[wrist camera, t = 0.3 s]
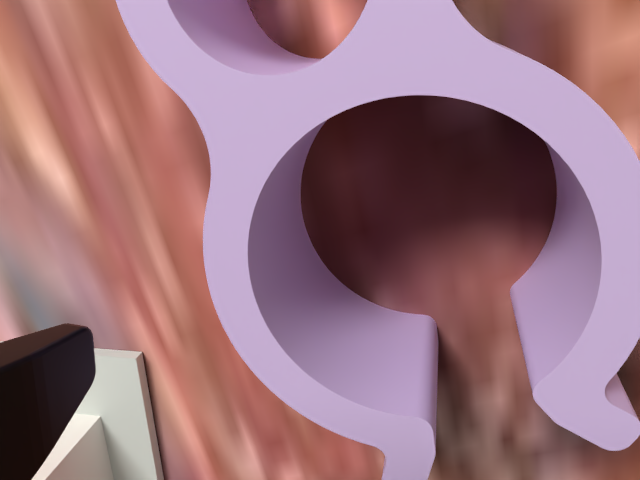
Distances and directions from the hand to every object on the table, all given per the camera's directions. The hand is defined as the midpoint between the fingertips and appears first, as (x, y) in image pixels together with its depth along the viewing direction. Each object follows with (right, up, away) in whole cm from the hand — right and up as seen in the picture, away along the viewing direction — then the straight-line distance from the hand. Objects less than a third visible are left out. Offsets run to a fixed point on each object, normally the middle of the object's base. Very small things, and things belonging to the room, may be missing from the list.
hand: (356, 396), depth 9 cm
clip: (+2, +6, +13) cm, 15 cm away
